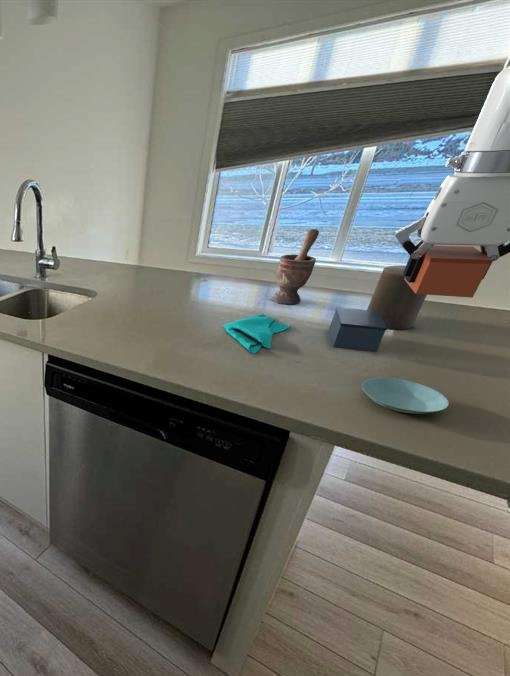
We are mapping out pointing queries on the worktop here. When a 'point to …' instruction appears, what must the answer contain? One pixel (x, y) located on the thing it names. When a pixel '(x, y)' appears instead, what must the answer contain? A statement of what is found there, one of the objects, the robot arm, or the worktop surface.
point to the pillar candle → (396, 299)
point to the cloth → (255, 331)
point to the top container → (451, 271)
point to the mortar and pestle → (295, 271)
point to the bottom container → (357, 329)
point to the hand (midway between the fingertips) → (439, 281)
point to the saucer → (404, 396)
